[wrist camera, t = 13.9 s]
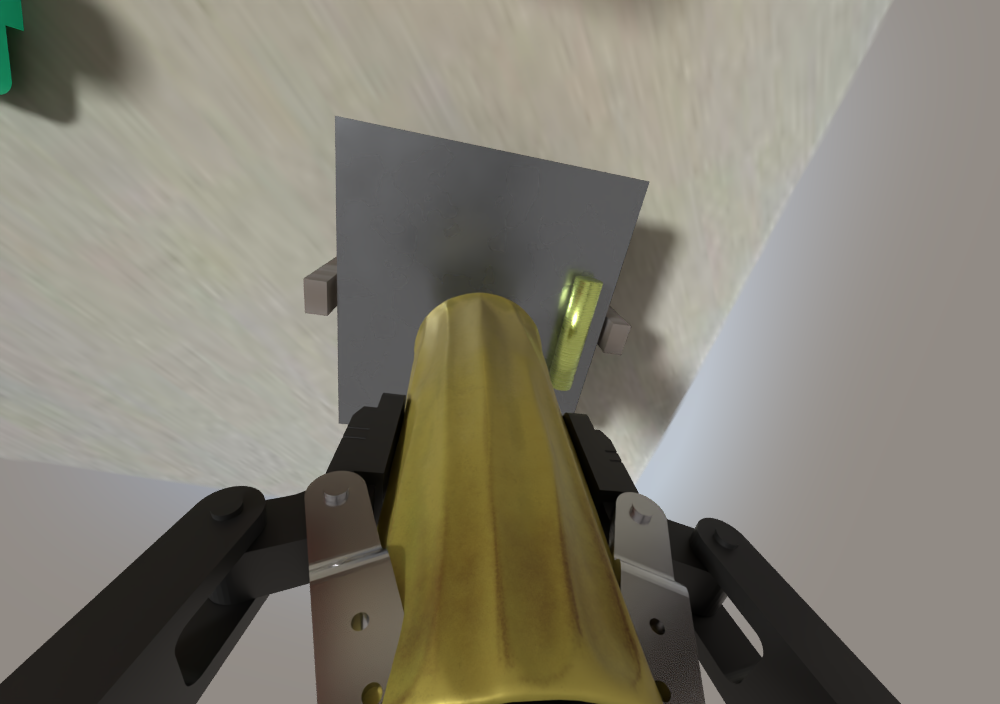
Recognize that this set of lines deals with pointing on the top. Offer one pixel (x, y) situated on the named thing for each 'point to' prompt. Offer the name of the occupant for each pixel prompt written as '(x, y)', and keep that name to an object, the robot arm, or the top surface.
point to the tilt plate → (468, 250)
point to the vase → (498, 530)
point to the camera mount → (5, 9)
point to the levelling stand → (324, 299)
